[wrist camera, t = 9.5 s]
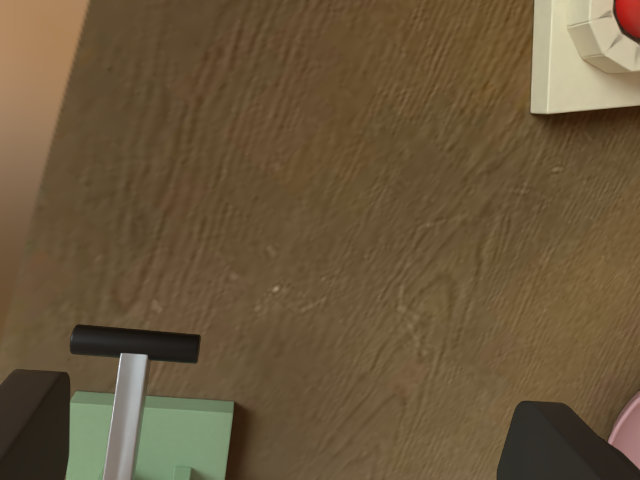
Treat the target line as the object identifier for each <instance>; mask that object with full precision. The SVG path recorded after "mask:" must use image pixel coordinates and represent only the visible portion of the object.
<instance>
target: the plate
mask: <svg viewBox="0 0 640 480" xmlns="http://www.w3.org/2000/svg"><path fill="white" fill-rule="evenodd" d="M608 443H609V444H611V445H612V446H614V447H615V448H617V449H618V450H620V451H621V452H622V453H623V454H625V455H626V456H627V457H628V458H629V459H630V460H631V461H632V462H633V463H634V464H635V465H636V466H637V467H638V468H639V469H640V391H638V392H637V393H636V394H635V395H634V396H633V397H632V398H631V399H630V401H629V402H628V403H627V404H626V405H625V407H624V408H623V409H622V411H621V412H620V414H619V416H618V417H617V419H616V421H615V423H614V426H613V428H612V431H611V434H610V436H609V439H608Z"/></svg>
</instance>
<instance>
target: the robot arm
mask: <svg viewBox="0 0 640 480" xmlns="http://www.w3.org/2000/svg"><path fill="white" fill-rule="evenodd" d="M69 445H70V378H69V375H68V373H67V372H56V371H39V370H22V369H17V370H14V371H13V372H12V373H11V374H10V375H9V376H8V377H7V378H6V379H5V380H4V382H3V383H2V384H1V385H0V480H64V478H65V475H66V471H67V466H68V460H69ZM497 480H640V469H639V468H638V467H637V466H636V465H635V464H634V463H633V462H632V461H631V460H630V459H629V458H628V457H627V456H626V455H625V454H623V453H622V452H621V451H620V450H618V449H617V448H615V447H614V446H612V445H611V444H609V443H608V442H606V441H605V440H603V439H602V438H600V437H599V436H598V435H597V434H596V433H595V432H594V431H593V430H592V429H591V428H590V427H589V426H588V425H587V424H586V423H585V422H584V421H583V420H582V419H581V418H580V417H579V416H578V415H577V414H576V413H575V412H574V411H573V410H572V409H571V408H570V407H568V406H567V405H566V404H563V403H556V402H539V401H522V402H520V403H519V404H518V405H517V407H516V409H515V411H514V414H513V417H512V421H511V424H510V428H509V431H508V434H507V438H506V441H505V444H504V448H503V451H502V454H501V458H500V461H499V465H498V469H497Z"/></svg>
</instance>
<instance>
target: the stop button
mask: <svg viewBox="0 0 640 480" xmlns="http://www.w3.org/2000/svg"><path fill="white" fill-rule="evenodd" d="M616 13H617V17H618V20H619V22H620V24H621V26H622V27H623V28H624V29H625V30H626V32H628V33H629V34H630V35H632V36H634V37H637V38H640V0H616Z"/></svg>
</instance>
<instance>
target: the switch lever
mask: <svg viewBox="0 0 640 480" xmlns="http://www.w3.org/2000/svg"><path fill="white" fill-rule="evenodd" d="M200 341H201V336H200V335H196V334H184V333H173V332H161V331H149V330H138V329H126V328H115V327H103V326H92V325H80V324H79V325H76V326H75V328H74V330H73V332H72V335H71V339H70V352H71V353H72V354H77V355H90V356H103V357H116V358H120V360H119V367H118V374H117V381H116V388H115V395H114V402H113V409H112V416H111V423H110V430H109V437H108V444H107V451H106V458H105V464H104V471H103V478H102V480H135V473H136V465H137V458H138V451H139V444H140V436H141V429H142V422H143V414H144V407H145V400H146V393H147V385H148V378H149V371H150V364H151V360H155V361H168V362H181V363H194V364H195V363H197V361H198V356H199V350H200Z"/></svg>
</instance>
